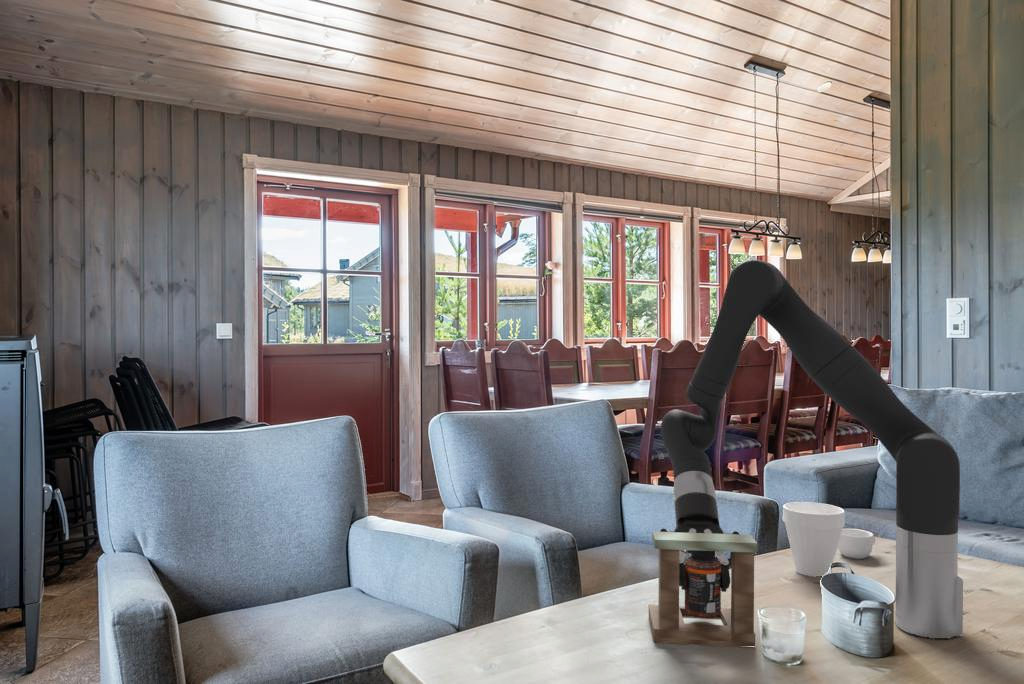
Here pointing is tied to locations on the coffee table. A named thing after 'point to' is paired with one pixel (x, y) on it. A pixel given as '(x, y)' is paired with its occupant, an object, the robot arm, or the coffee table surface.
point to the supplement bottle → (703, 584)
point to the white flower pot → (813, 535)
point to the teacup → (856, 543)
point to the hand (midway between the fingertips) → (704, 588)
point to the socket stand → (731, 623)
